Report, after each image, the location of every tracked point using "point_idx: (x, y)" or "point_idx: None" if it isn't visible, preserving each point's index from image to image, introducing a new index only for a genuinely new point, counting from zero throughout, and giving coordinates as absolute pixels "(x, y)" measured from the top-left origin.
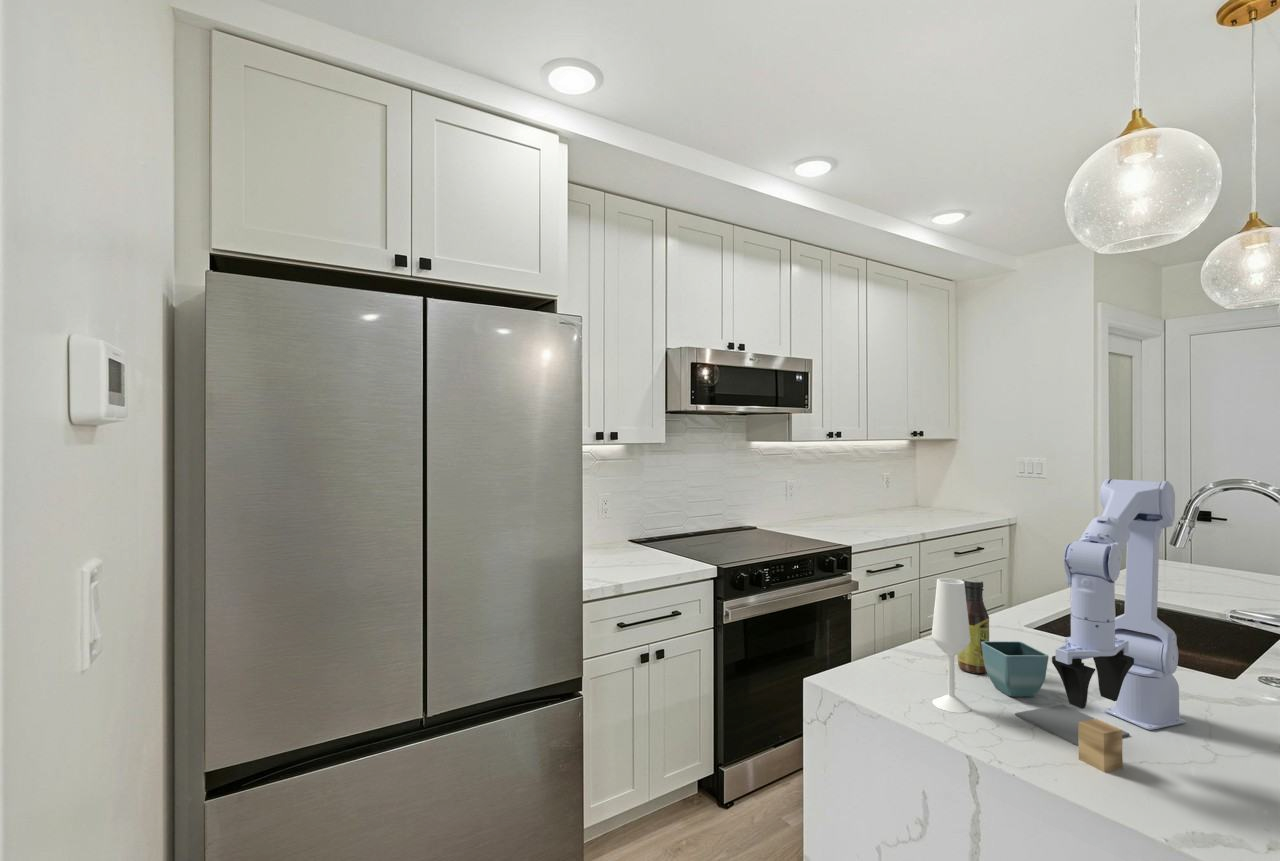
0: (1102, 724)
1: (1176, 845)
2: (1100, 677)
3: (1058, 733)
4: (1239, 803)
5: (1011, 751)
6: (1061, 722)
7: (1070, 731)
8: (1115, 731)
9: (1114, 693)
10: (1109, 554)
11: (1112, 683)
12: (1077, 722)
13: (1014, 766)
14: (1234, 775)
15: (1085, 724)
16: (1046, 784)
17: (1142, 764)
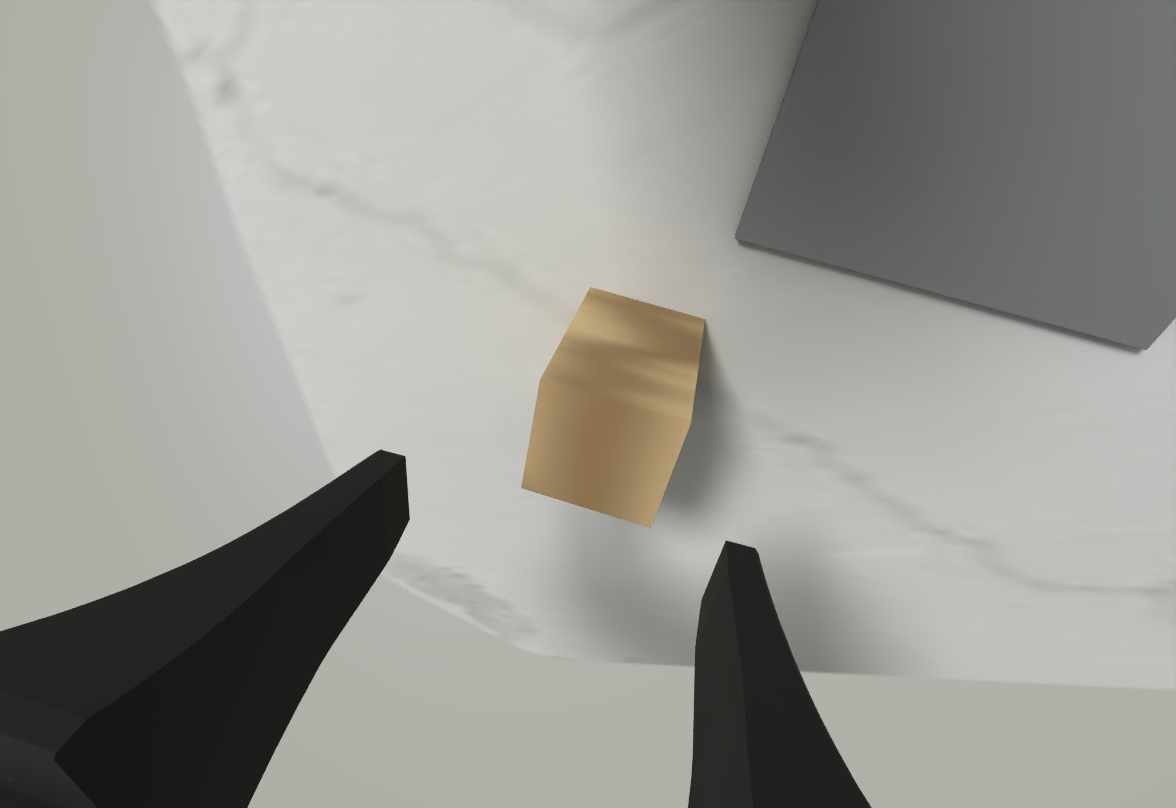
0: (630, 462)
1: None
2: (732, 674)
3: (789, 107)
4: None
5: (359, 56)
6: (1032, 17)
7: (889, 137)
8: (603, 511)
9: (699, 649)
10: None
11: (705, 711)
12: (1128, 89)
13: (264, 154)
14: (952, 627)
15: (544, 412)
16: (286, 294)
17: (779, 447)
